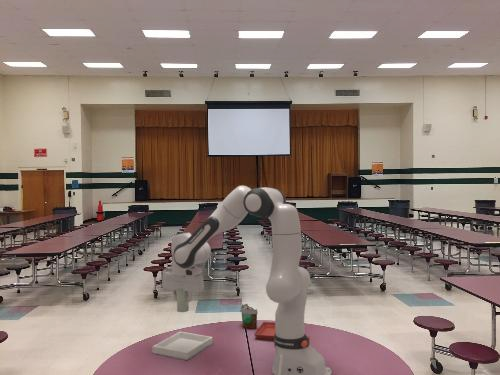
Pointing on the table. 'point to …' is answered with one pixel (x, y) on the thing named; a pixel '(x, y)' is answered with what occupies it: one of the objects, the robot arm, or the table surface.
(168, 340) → the tray
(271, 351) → the table surface
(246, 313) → the food container
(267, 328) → the plant saucer
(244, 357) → the table surface
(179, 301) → the cylinder
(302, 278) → the robot arm
